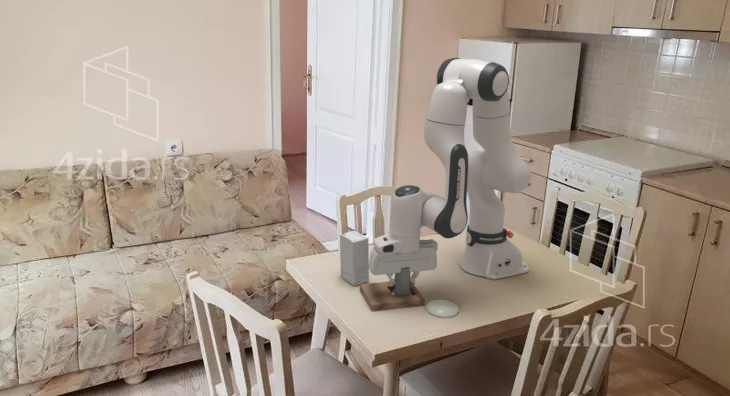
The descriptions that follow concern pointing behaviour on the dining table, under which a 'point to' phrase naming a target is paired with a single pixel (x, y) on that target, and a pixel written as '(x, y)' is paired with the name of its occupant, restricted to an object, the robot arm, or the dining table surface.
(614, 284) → the dining table surface
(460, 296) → the dining table surface
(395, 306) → the pocket board
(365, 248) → the skincare box
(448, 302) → the saucer
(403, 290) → the grey cylinder
